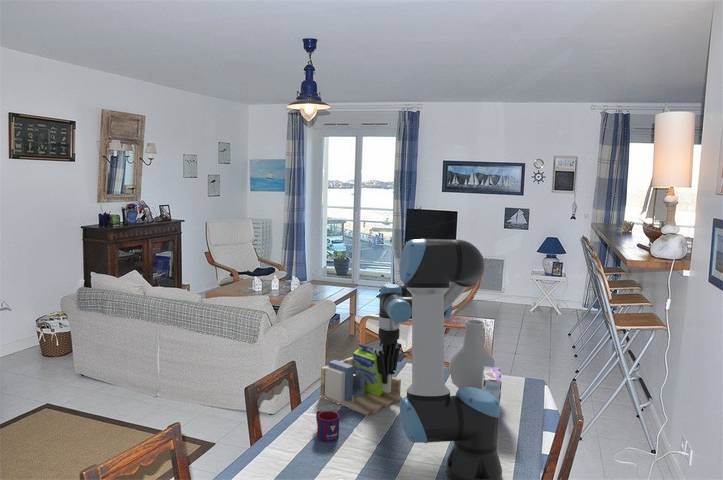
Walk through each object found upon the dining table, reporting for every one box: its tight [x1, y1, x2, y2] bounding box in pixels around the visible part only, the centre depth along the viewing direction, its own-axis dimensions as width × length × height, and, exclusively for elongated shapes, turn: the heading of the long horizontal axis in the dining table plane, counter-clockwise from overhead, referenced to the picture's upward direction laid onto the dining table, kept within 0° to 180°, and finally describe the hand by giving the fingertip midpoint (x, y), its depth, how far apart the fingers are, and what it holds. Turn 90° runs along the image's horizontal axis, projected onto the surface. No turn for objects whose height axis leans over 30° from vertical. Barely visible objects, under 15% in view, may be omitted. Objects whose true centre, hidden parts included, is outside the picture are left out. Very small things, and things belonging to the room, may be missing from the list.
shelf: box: [320, 356, 403, 417], centre depth 201 cm, size 20×22×11 cm
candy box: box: [482, 366, 503, 404], centre depth 186 cm, size 14×6×16 cm, turn 168°
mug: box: [315, 410, 340, 442], centre depth 173 cm, size 7×10×7 cm
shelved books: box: [325, 359, 353, 402], centre depth 198 cm, size 5×9×12 cm, turn 50°
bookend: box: [352, 374, 366, 399], centre depth 203 cm, size 6×10×6 cm, turn 50°
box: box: [352, 343, 384, 396], centre depth 202 cm, size 11×4×17 cm, turn 49°
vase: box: [448, 319, 496, 390], centre depth 206 cm, size 17×16×28 cm
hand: (386, 391), depth 200 cm, fingers closed
